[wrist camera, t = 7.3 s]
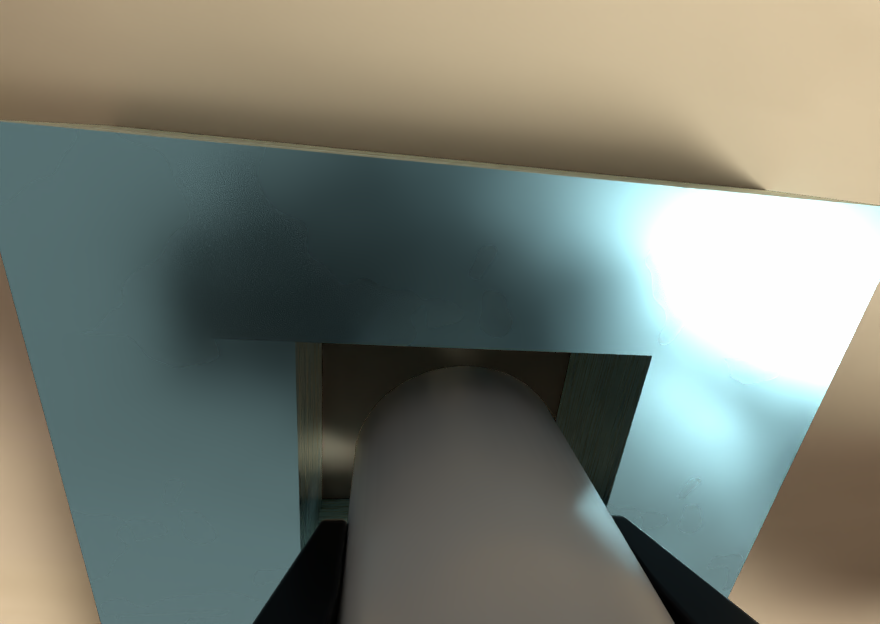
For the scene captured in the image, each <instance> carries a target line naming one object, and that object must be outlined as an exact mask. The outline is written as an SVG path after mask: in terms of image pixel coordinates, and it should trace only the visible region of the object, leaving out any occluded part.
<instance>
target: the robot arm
mask: <svg viewBox="0 0 880 624" xmlns="http://www.w3.org/2000/svg"><path fill="white" fill-rule="evenodd" d="M611 516H612V518H613V520H614V521H615V523H616V525H617V527H618V528H619V530H620V532H621V533H622V535H623V537H624V538H625V540H626V542H627V543H628V545H629V547H630V549H631V550H632V552H633V554H634V555H635V557H636V559H637V560H638V562H639V564H640V566H641V567H642V569H643V571H644V572H645V574H646V576H647V577H648V579H649V581H650V582H651V584H652V586H653V588H654V589H655V591H656V593H657V594H658V596H659V598H660V599H661V601H662V603H663V604H664V606H665V608H666V610H667V611H668V613H669V615H670V616H671V618H672V620H673V621H674V623H675V624H759V623H758V622H756V621H755V620H754V619H753V618H751V617H750V616H749V615H748V614H746V613H745V612H744V611H743V610H741V609H740V608H739V607H738V606H736V605H735V604H734V603H733V602H731V601H730V600H729V599H728V598H726V597H725V596H724V595H723V594H721V593H720V592H719V591H718V590H716V589H715V588H714V587H713V586H711V585H710V584H709V583H707V582H706V581H705V580H704V579H702V578H701V577H700V576H699V575H697V574H696V573H695V572H694V571H692V570H691V569H690V568H689V567H687V566H686V565H685V564H684V563H682V562H681V561H680V560H679V559H677V558H676V557H675V556H674V555H672V554H671V553H670V552H669V551H667V550H666V549H665V548H664V547H662V546H661V545H660V544H658V543H657V542H656V541H655V540H653V539H652V538H651V537H650V536H648V535H647V534H646V533H645V532H643V531H642V530H641V529H640V528H638V527H637V526H636V525H635V524H633V523H632V522H631V521H630V520H628V519H627V518H626V517H624V516H622V515H611ZM346 533H347V522H346V520H344V519H325V520H322V521H321V522H320V523H319V525H318V526H317V528H316V529H315V531H314V532H313V534H312V535H311V537H310V538H309V540H308V541H307V543H306V544H305V546H304V547H303V549H302V550H301V551H300V553H299V554H298V556H297V557H296V559H295V560H294V562H293V563H292V565H291V566H290V568H289V569H288V571H287V572H286V574H285V575H284V577H283V578H282V580H281V581H280V583H279V584H278V586H277V587H276V589H275V590H274V592H273V593H272V595H271V596H270V598H269V599H268V601H267V602H266V604H265V605H264V607H263V608H262V610H261V611H260V613H259V614H258V616H257V617H256V619H255V620H254V622H253V623H252V624H336V622H337V613H338V605H339V597H340V588H341V579H342V569H343V560H344V551H345V542H346Z"/></svg>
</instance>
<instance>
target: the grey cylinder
mask: <svg viewBox="0 0 880 624" xmlns="http://www.w3.org/2000/svg"><path fill="white" fill-rule="evenodd" d="M336 624H675V623H674V621H673V620H672V618H671V616H670V615H669V613H668V611H667V610H666V608H665V606H664V604H663V603H662V601H661V599H660V598H659V596H658V594H657V593H656V591H655V589H654V588H653V586H652V584H651V582H650V581H649V579H648V577H647V576H646V574H645V572H644V571H643V569H642V567H641V566H640V564H639V562H638V560H637V559H636V557H635V555H634V554H633V552H632V550H631V549H630V547H629V545H628V543H627V542H626V540H625V538H624V537H623V535H622V533H621V532H620V530H619V528H618V527H617V525H616V523H615V521H614V520H613V518H612V516H611V515H610V513H609V511H608V510H607V508H606V506H605V505H604V503H603V501H602V499H601V498H600V496H599V494H598V493H597V491H596V489H595V488H594V486H593V484H592V483H591V481H590V479H589V477H588V476H587V474H586V472H585V471H584V469H583V467H582V466H581V464H580V462H579V461H578V459H577V457H576V455H575V454H574V452H573V450H572V449H571V447H570V445H569V444H568V442H567V440H566V439H565V437H564V435H563V433H562V432H561V430H560V428H559V427H558V425H557V423H556V422H555V420H554V418H553V417H552V415H551V413H550V411H549V410H548V408H547V406H546V405H545V403H544V402H543V401H542V399H541V398H540V397H539V395H538V394H537V393H535V392H534V391H533V390H532V389H531V388H530V387H529V386H528V385H526V384H525V383H523V382H522V381H521V380H519V379H517V378H515V377H513V376H511V375H509V374H506V373H503V372H501V371H498V370H494V369H489V368H485V367H476V366H454V367H447V368H440V369H437V370H433V371H429V372H426V373H423V374H421V375H418V376H415V377H413V378H411V379H409V380H407V381H406V382H404V383H402V384H400V385H399V386H397V387H396V388H394V389H393V390H392V391H390V392H389V393H388V394H387V395H386V396H384V397H383V398H382V399H381V400H380V401H379V402H378V403H377V404H376V406H375V407H374V408H373V409H372V410H371V412H370V413H369V415H368V416H367V418H366V419H365V421H364V423H363V425H362V427H361V430H360V432H359V435H358V439H357V442H356V449H355V458H354V467H353V476H352V485H351V494H350V503H349V512H348V521H347V533H346V542H345V551H344V560H343V569H342V579H341V588H340V597H339V605H338V613H337V622H336Z"/></svg>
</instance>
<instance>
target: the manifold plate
mask: <svg viewBox="0 0 880 624" xmlns="http://www.w3.org/2000/svg"><path fill="white" fill-rule="evenodd" d="M0 253H1V256H2V260H3V264H4V268H5V271H6V275H7V279H8V282H9V286H10V290H11V293H12V297H13V301H14V304H15V308H16V312H17V315H18V319H19V323H20V326H21V330H22V334H23V338H24V341H25V345H26V349H27V352H28V356H29V360H30V363H31V367H32V371H33V374H34V378H35V382H36V385H37V389H38V393H39V396H40V400H41V404H42V408H43V411H44V415H45V419H46V422H47V426H48V430H49V433H50V437H51V441H52V444H53V448H54V452H55V455H56V459H57V463H58V467H59V470H60V474H61V478H62V481H63V485H64V489H65V492H66V496H67V500H68V503H69V507H70V511H71V514H72V518H73V522H74V525H75V529H76V533H77V537H78V540H79V544H80V548H81V551H82V555H83V559H84V562H85V566H86V570H87V573H88V577H89V581H90V584H91V588H92V592H93V596H94V599H95V603H96V607H97V610H98V614H99V618H100V621H101V624H252V623H253V622H254V620H255V619H256V617H257V616H258V614H259V613H260V611H261V610H262V608H263V607H264V605H265V604H266V602H267V601H268V599H269V598H270V596H271V595H272V593H273V592H274V590H275V589H276V587H277V586H278V584H279V583H280V581H281V580H282V578H283V577H284V575H285V574H286V572H287V571H288V569H289V568H290V566H291V565H292V563H293V562H294V560H295V559H296V557H297V556H298V554H299V553H300V551H301V550H302V549H303V547H304V546H305V544H306V543H307V541H308V540H309V538H310V537H311V535H312V534H313V532H314V531H315V529H316V528H317V526H318V525H319V523H320V522H321V521H322V520H325V519H344V520H346V522H347V521H348V512H349V503H350V499H322V343H334V344H360V345H387V346H413V347H439V348H465V349H491V350H517V351H543V352H569V353H571V355H570V359H569V364H568V368H567V373H566V377H565V382H564V386H563V390H562V395H561V399H560V404H559V408H558V412H557V417H556V421H555V422H556V423H557V425H558V427H559V428H560V430H561V432H562V433H563V435H564V437H565V439H566V440H567V442H568V444H569V445H570V447H571V449H572V450H573V452H574V454H575V455H576V457H577V459H578V461H579V462H580V464H581V466H582V467H583V469H584V471H585V472H586V474H587V476H588V477H589V479H590V481H591V483H592V484H593V486H594V488H595V489H596V491H597V493H598V494H599V496H600V498H601V499H602V501H603V503H604V505H605V506H606V508H607V510H608V511H609V513H610V515H622V516H624V517H626V518H627V519H628V520H630V521H631V522H632V523H633V524H635V525H636V526H637V527H638V528H640V529H641V530H642V531H643V532H645V533H646V534H647V535H648V536H650V537H651V538H652V539H653V540H655V541H656V542H657V543H658V544H660V545H661V546H662V547H664V548H665V549H666V550H667V551H669V552H670V553H671V554H672V555H674V556H675V557H676V558H677V559H679V560H680V561H681V562H682V563H684V564H685V565H686V566H687V567H689V568H690V569H691V570H692V571H694V572H695V573H696V574H697V575H699V576H700V577H701V578H702V579H704V580H705V581H706V582H707V583H709V584H710V585H711V586H713V587H714V588H715V589H716V590H718V591H719V592H720V593H721V594H723V595H724V596H725V597H726V598H728V596H729V594H730V592H731V590H732V588H733V586H734V584H735V581H736V579H737V577H738V575H739V573H740V571H741V569H742V567H743V565H744V563H745V561H746V558H747V556H748V554H749V552H750V550H751V548H752V546H753V544H754V542H755V540H756V537H757V535H758V533H759V531H760V529H761V527H762V525H763V523H764V521H765V519H766V517H767V514H768V512H769V510H770V508H771V506H772V504H773V502H774V500H775V498H776V496H777V494H778V491H779V489H780V487H781V485H782V483H783V481H784V479H785V477H786V475H787V473H788V470H789V468H790V466H791V464H792V462H793V460H794V458H795V456H796V454H797V452H798V450H799V447H800V445H801V443H802V441H803V439H804V437H805V435H806V433H807V431H808V429H809V427H810V424H811V422H812V420H813V418H814V416H815V414H816V412H817V410H818V408H819V406H820V403H821V401H822V399H823V397H824V395H825V393H826V391H827V389H828V387H829V385H830V383H831V380H832V378H833V376H834V374H835V372H836V370H837V368H838V366H839V364H840V362H841V360H842V357H843V355H844V353H845V351H846V349H847V347H848V345H849V343H850V341H851V339H852V336H853V334H854V332H855V330H856V328H857V326H858V324H859V322H860V320H861V318H862V316H863V313H864V311H865V309H866V307H867V305H868V303H869V301H870V299H871V297H872V295H873V293H874V290H875V288H876V286H877V284H878V282H879V280H880V205H873V204H866V203H858V202H851V201H843V200H836V199H828V198H821V197H813V196H806V195H798V194H790V193H783V192H775V191H768V190H757V189H747V188H737V187H727V186H717V185H707V184H697V183H687V182H676V181H666V180H656V179H646V178H636V177H626V176H616V175H606V174H595V173H585V172H575V171H565V170H555V169H545V168H535V167H525V166H514V165H504V164H494V163H484V162H474V161H464V160H454V159H444V158H433V157H423V156H413V155H403V154H393V153H383V152H373V151H363V150H352V149H342V148H332V147H322V146H312V145H302V144H292V143H282V142H271V141H261V140H251V139H241V138H231V137H221V136H211V135H201V134H190V133H180V132H170V131H160V130H150V129H140V128H130V127H120V126H109V125H91V124H73V123H54V122H35V121H16V120H0Z"/></svg>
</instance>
